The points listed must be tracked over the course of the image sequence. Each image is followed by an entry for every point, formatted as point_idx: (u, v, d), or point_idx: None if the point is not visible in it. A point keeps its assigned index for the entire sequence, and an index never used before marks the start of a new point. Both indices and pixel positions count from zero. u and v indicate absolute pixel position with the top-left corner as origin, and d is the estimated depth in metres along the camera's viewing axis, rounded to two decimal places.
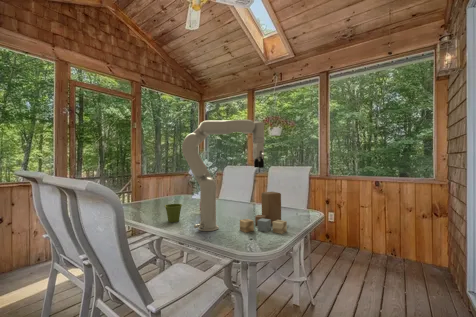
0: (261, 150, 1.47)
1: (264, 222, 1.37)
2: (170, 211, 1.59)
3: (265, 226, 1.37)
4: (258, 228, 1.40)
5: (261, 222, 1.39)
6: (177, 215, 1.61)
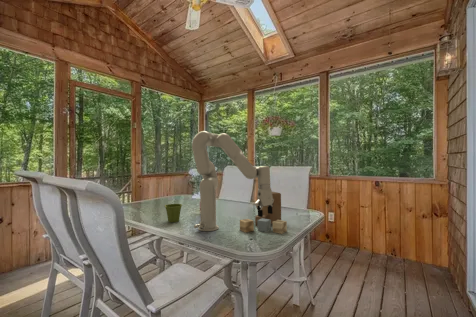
0: None
1: (264, 222, 1.37)
2: (170, 211, 1.59)
3: (265, 226, 1.37)
4: (258, 228, 1.40)
5: (261, 222, 1.39)
6: (177, 215, 1.61)
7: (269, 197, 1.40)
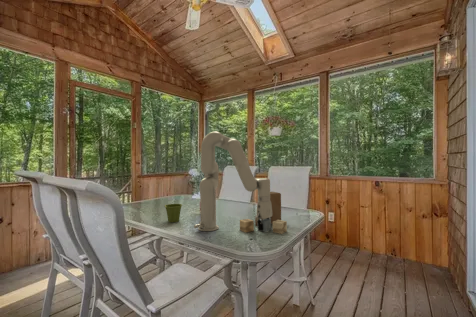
0: None
1: (264, 222, 1.37)
2: (170, 211, 1.59)
3: (265, 226, 1.37)
4: None
5: None
6: (177, 215, 1.61)
7: (269, 210, 1.40)
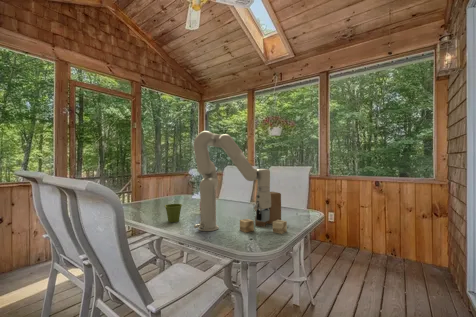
0: None
1: (263, 212, 1.38)
2: (170, 211, 1.59)
3: (264, 216, 1.37)
4: (256, 218, 1.40)
5: None
6: (177, 215, 1.61)
7: (268, 200, 1.40)
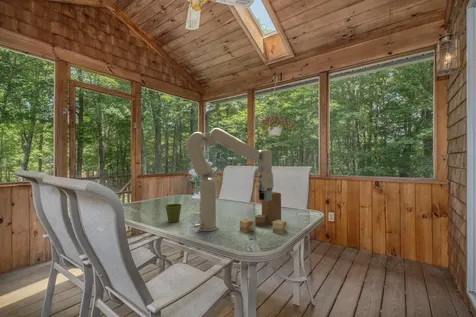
0: None
1: (265, 192, 1.40)
2: (170, 211, 1.59)
3: (266, 196, 1.40)
4: None
5: None
6: (177, 215, 1.61)
7: (270, 180, 1.43)
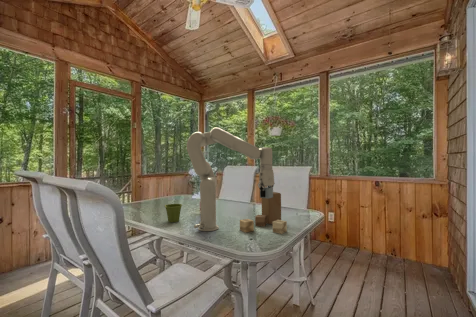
0: None
1: (266, 189, 1.41)
2: (170, 211, 1.59)
3: (267, 193, 1.41)
4: None
5: None
6: (177, 215, 1.61)
7: (271, 178, 1.44)
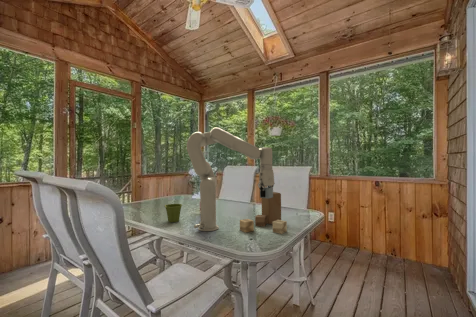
0: None
1: (266, 189, 1.41)
2: (170, 211, 1.59)
3: (267, 193, 1.41)
4: None
5: None
6: (177, 215, 1.61)
7: (271, 178, 1.44)
